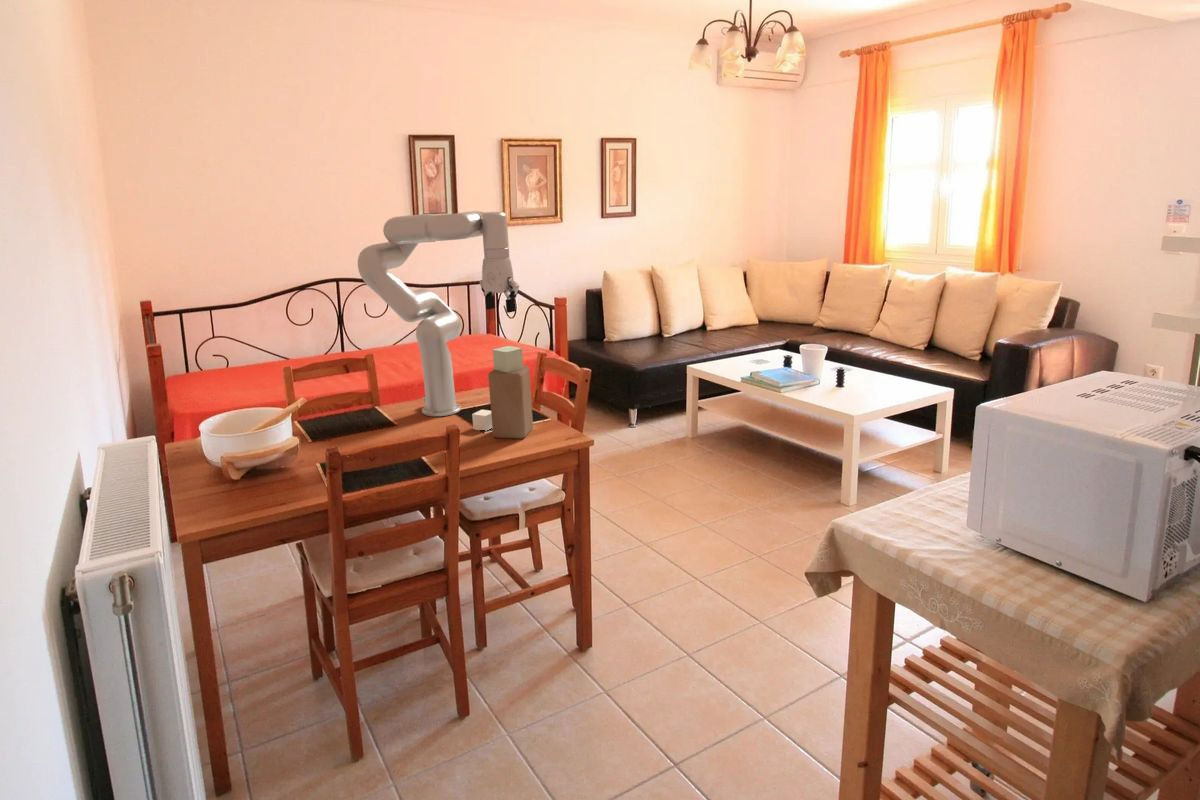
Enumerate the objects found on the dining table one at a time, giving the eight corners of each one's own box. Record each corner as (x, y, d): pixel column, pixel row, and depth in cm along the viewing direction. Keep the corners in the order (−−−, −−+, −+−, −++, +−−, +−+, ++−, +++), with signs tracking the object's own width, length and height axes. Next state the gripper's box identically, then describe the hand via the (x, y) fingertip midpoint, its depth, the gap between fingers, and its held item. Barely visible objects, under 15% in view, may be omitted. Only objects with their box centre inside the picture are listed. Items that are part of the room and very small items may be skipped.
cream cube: (473, 429, 231) (472, 414, 229) (483, 424, 235) (481, 409, 234) (486, 431, 229) (485, 416, 227) (496, 426, 233) (495, 411, 231)
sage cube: (494, 369, 220) (492, 349, 218) (509, 365, 224) (508, 345, 222) (507, 372, 216) (506, 352, 214) (523, 368, 220) (522, 348, 219)
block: (524, 439, 220) (520, 373, 215) (492, 438, 222) (486, 373, 216) (534, 428, 230) (530, 364, 224) (502, 427, 232) (498, 364, 226)
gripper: (468, 253, 230) (473, 309, 235) (505, 256, 219) (509, 315, 224) (488, 251, 235) (492, 305, 240) (525, 254, 224) (528, 311, 229)
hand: (500, 310), depth 232 cm, fingers open, 9 cm apart
